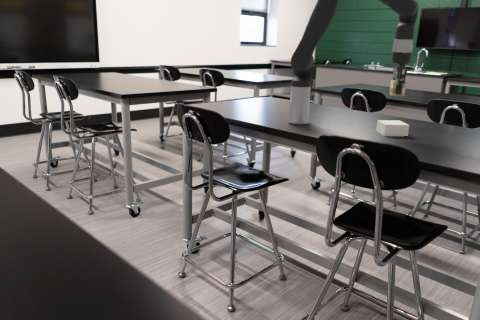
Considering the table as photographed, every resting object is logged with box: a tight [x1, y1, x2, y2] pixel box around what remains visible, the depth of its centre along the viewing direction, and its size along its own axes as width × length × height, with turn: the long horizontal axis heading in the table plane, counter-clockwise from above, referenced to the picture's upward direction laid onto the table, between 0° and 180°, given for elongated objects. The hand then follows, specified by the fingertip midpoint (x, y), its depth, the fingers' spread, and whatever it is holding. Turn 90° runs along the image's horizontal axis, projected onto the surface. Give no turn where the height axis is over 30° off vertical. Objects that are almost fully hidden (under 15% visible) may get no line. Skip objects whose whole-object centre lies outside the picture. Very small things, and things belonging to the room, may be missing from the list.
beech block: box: [388, 79, 407, 97], centre depth 167 cm, size 5×5×6 cm
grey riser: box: [375, 119, 410, 137], centre depth 172 cm, size 10×10×5 cm
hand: (396, 93), depth 168 cm, fingers closed on beech block, 5 cm apart
